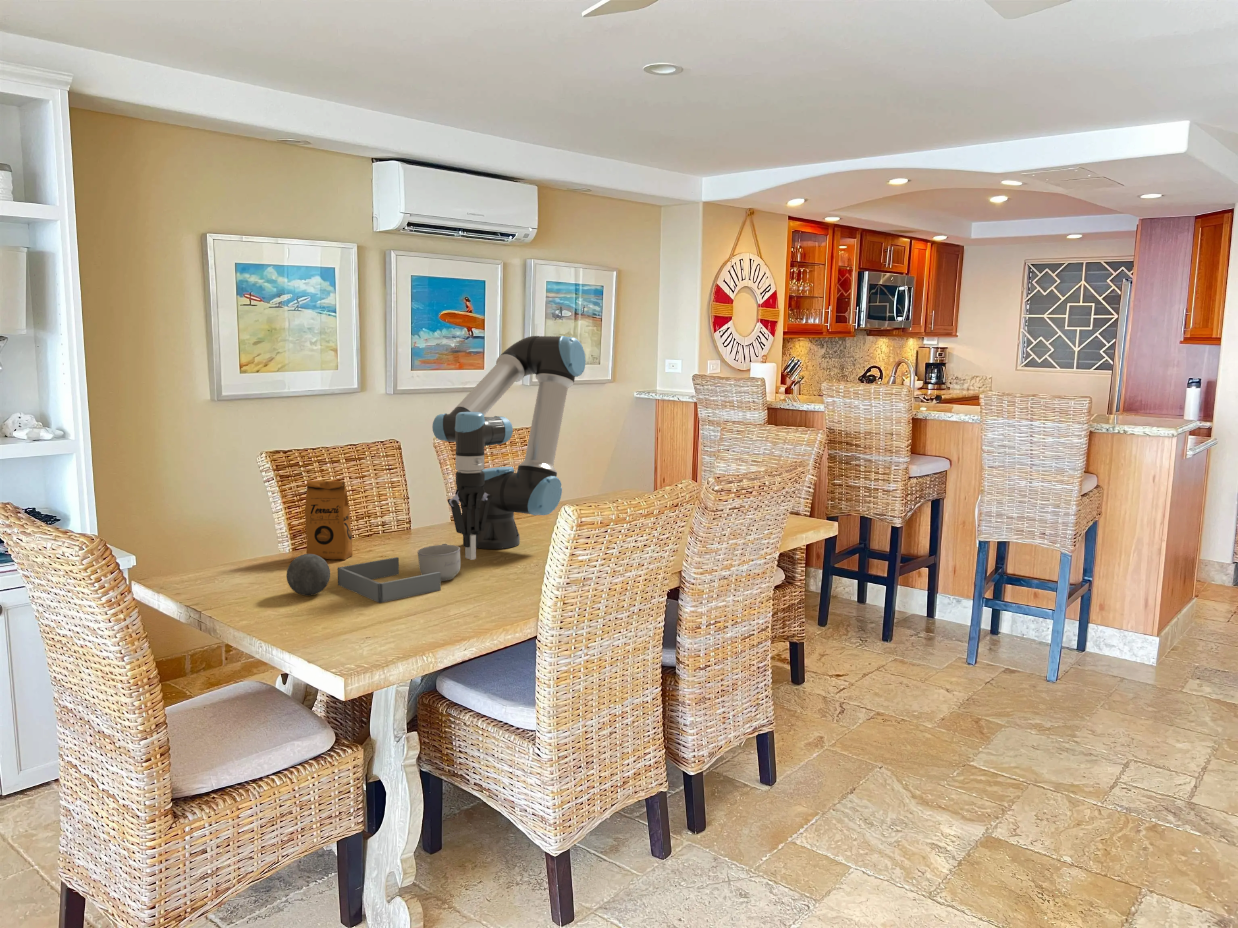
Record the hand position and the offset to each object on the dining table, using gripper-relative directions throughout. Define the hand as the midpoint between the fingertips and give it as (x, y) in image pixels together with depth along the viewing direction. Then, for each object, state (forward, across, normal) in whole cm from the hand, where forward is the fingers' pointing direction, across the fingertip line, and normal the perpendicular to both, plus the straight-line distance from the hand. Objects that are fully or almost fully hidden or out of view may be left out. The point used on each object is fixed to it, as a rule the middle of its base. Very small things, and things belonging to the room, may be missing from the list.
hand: (470, 558), depth 248 cm
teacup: (+4, -9, 0) cm, 10 cm away
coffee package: (+4, -21, +38) cm, 44 cm away
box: (+4, -24, 0) cm, 24 cm away
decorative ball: (+4, -42, +7) cm, 43 cm away
